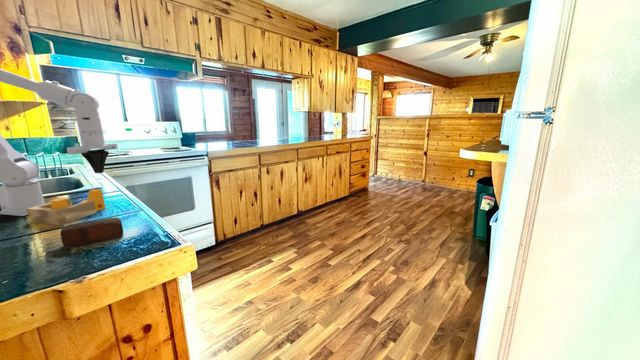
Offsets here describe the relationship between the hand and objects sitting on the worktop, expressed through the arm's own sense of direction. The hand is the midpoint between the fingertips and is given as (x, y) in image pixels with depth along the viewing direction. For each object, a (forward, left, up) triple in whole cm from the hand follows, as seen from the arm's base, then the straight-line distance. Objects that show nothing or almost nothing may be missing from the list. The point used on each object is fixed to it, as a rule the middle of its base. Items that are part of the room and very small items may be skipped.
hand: (99, 172), depth 85 cm
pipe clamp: (+4, -11, -11) cm, 16 cm away
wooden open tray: (+3, -13, -10) cm, 17 cm away
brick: (+26, -24, -11) cm, 37 cm away
